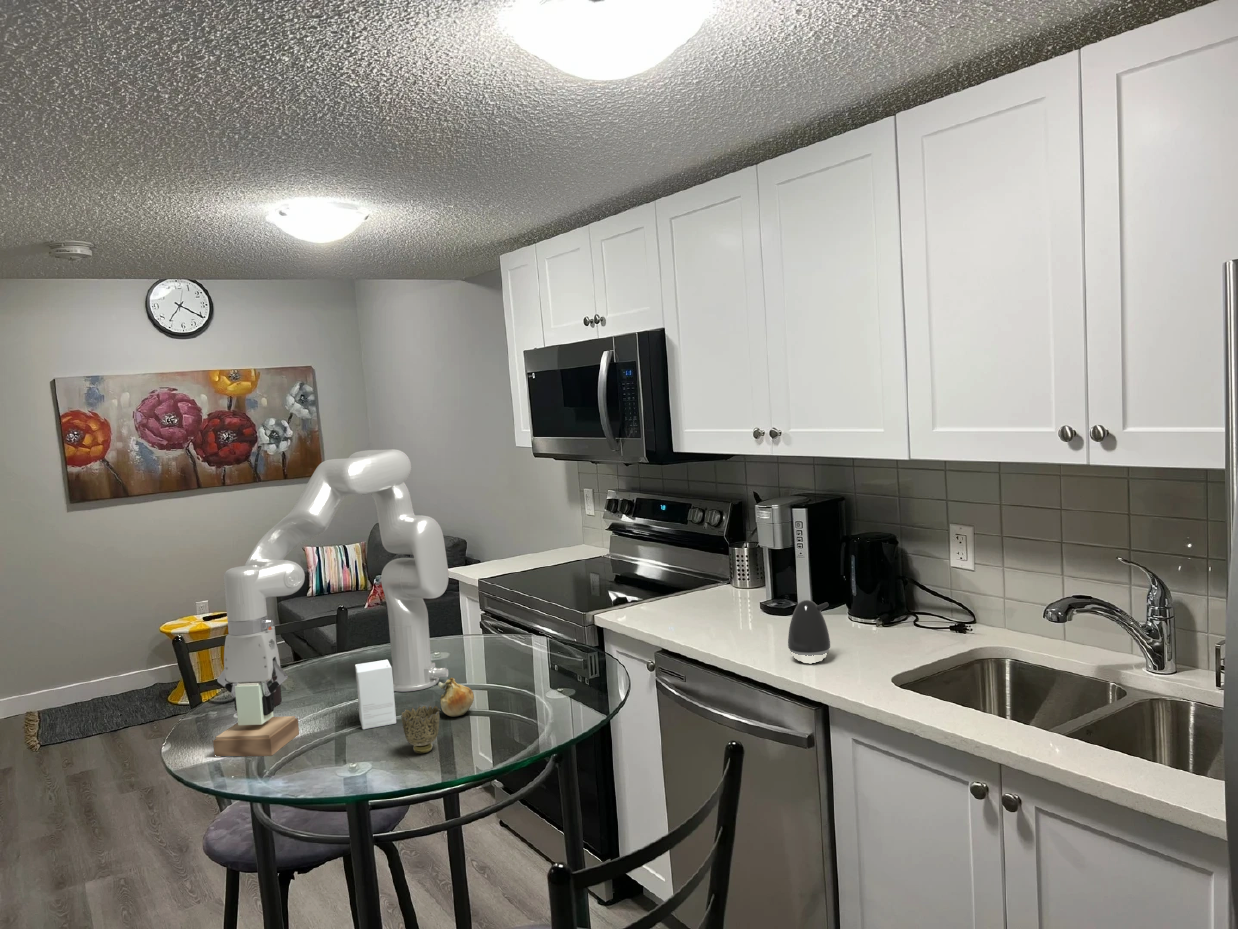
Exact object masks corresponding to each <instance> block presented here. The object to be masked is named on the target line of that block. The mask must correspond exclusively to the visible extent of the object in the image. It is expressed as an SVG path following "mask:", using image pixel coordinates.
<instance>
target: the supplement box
mask: <svg viewBox="0 0 1238 929" xmlns="http://www.w3.org/2000/svg"><path fill="white" fill-rule="evenodd" d="M354 668H355V679H356V680H355V681H356V690H357V692H356V693H357V702H358V703H357V704H358V705H357V706H358V715H359V717H358V718H359V721H360V725H361V729H362V730H367V729H372V728H379V727H383V726H385V727H386V726H388V725H389V726H390V725H394V724H395V725H396V724H397V715H396V714H397V713H396V712H397V711H396V703H395V701H396V700H395V691H394V688H393V670H392V664H391V663H390V661H389V660H388V659H383V660H382V659H381V660H377V661H369V662H362V663H357V664H355V665H354Z"/></svg>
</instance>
